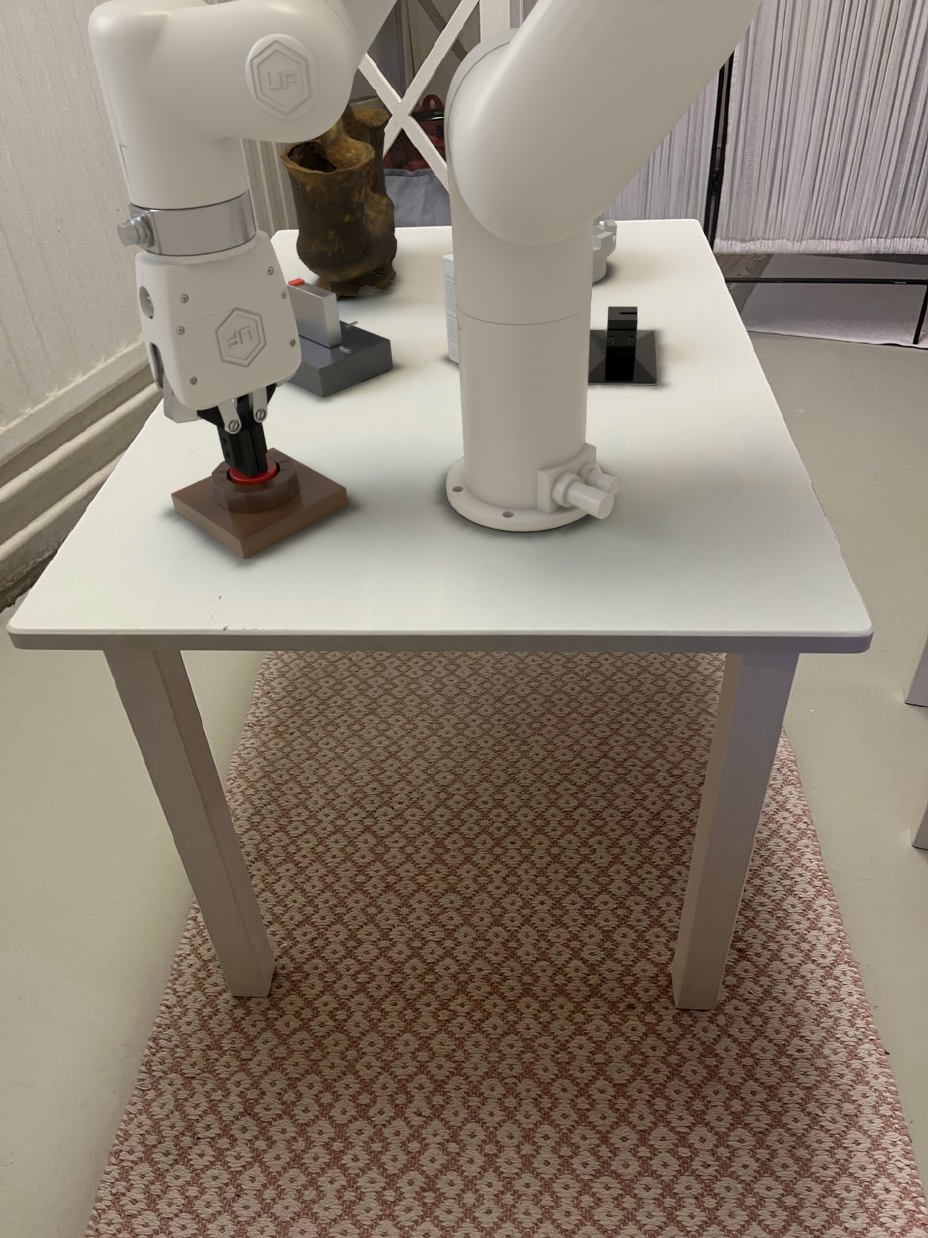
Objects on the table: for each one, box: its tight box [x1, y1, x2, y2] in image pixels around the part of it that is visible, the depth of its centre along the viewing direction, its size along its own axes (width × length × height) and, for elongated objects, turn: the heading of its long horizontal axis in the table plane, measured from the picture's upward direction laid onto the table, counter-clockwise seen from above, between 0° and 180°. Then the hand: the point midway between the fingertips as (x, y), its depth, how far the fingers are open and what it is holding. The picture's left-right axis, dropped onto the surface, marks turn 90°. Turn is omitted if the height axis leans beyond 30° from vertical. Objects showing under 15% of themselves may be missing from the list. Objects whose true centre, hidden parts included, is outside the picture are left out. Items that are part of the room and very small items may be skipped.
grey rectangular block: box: [286, 277, 342, 348], centre depth 92 cm, size 6×2×5 cm, turn 44°
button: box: [230, 458, 278, 485], centre depth 73 cm, size 4×4×2 cm
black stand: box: [588, 305, 658, 386], centre depth 92 cm, size 12×7×5 cm, turn 172°
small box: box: [441, 252, 459, 365], centre depth 92 cm, size 8×6×10 cm
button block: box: [170, 447, 349, 560], centre depth 74 cm, size 10×10×4 cm
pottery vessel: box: [279, 102, 398, 300], centre depth 108 cm, size 25×11×20 cm, turn 176°
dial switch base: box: [287, 319, 394, 399], centre depth 94 cm, size 12×10×3 cm
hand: (248, 467), depth 72 cm, fingers closed
